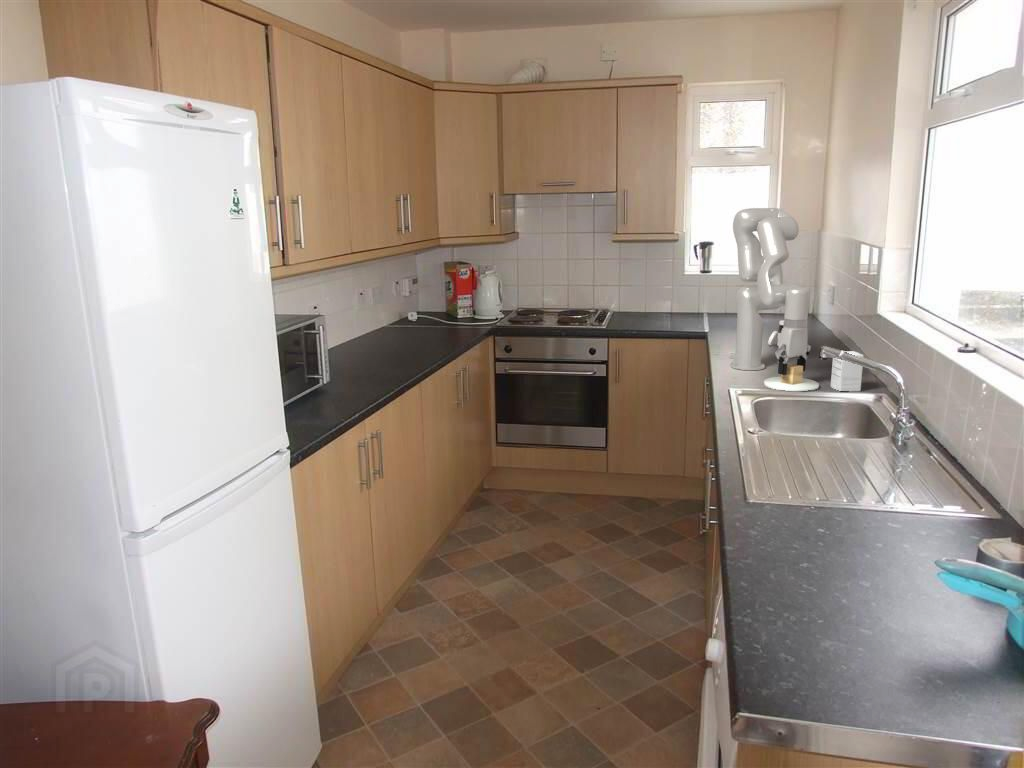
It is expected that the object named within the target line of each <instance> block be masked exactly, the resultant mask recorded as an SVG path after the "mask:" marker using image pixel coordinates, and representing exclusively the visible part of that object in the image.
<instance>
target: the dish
mask: <svg viewBox="0 0 1024 768" xmlns="http://www.w3.org/2000/svg"><path fill="white" fill-rule="evenodd" d="M763 386H764V387H765V388H767V387H768V388H767V389H770V388H771V389H770V390H774V389H776V390H775V391H778V390H785V391H808V390H815V389H817V390H819V389H818V388H820V383H819V382H817V381H816V380H814V379H813V380H812V379H808V378H806V377H802V383H799V384H795V385H790V384H786V383H782V382H781V376H772V377H769V378H765V379H763ZM785 391H784V392H785ZM815 391H816V390H815Z"/></svg>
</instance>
